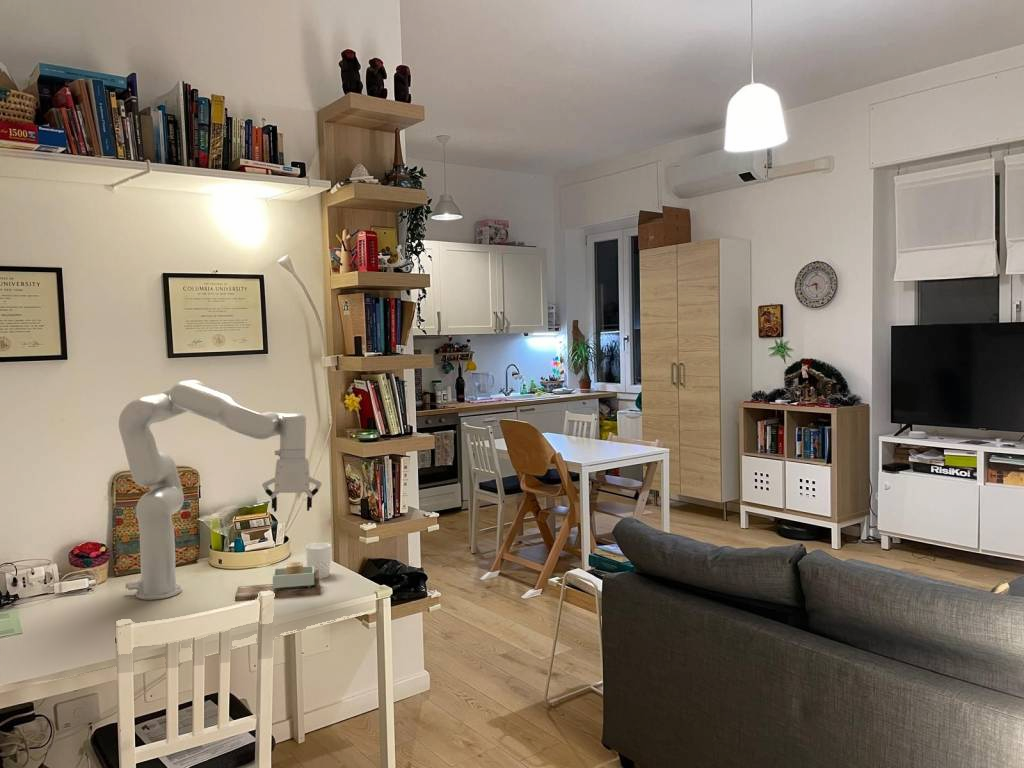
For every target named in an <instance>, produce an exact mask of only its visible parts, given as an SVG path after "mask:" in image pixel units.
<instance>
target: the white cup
mask: <svg viewBox="0 0 1024 768" xmlns="http://www.w3.org/2000/svg"><path fill="white" fill-rule="evenodd" d="M331 548H332V544H330V543H329V542H313V543H308V544H306V546H305V553H306V556H305V557H306V566H314V572H316V570H318V569H319V580H320V579H325V578H328V577H330V574H331V573H330V572H331V571H330V570H331V569H330V567H331V556H332V555H331V550H332V549H331Z"/></svg>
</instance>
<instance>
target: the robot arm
mask: <svg viewBox="0 0 1024 768" xmlns="http://www.w3.org/2000/svg"><path fill="white" fill-rule="evenodd" d="M184 413H191V414H194V415H197V416H200V417H202V418H205V419H208V420H211V421H214V422H216V423H218V424H219V425H221V426H223V427H226V428H227V429H229V430H232V431H233V432H235V433H239V434H242V435H243V436H247V437H250V438H253V439H255V440H267V439H269V438H272V437H275V436H276V437H277V436H279V449H278V450H274V456H278V457H279V458H277V459H276V463H275V469H274V470H275V472H274V477H273V478H272V477H271V479H269V480H266V481H265V482H262V484H261V485H262V488H263V489H264V491H265V494H267V496H268V497H270V499H271V509H273V512H274V513H275V512H277V511H278V510H277V509H278V497H277V495H278V494H290V493H291V494H294V493H295V494H296V493H299V494H301V493H305V494H306V511H308V512H309V511H310V508H313V505H312V504H313V497H314V496H315V495H316V494H317V493H318V492H319V490H320V488H321V486H322V482H321V481H319V480H317V479H316V478H313V477H311V476H310V463H309V459H308V457H307V458H306V446H307V444H306V443H307V441H306V440H307V437H306V436H307V417H306V415H305V414H303V413H296V412H295V413H293V412H292V413H290V412H289V413H283V412H282V413H281V412H280V413H279V412H276V411H275V412H274V411H266V412H262V413H260V412H256V411H254V410H252V409H251V410H250V409H248V408H245V407H244V406H243V407H242V406H241V405H239V404H237V403H236V402H235V401H234V400H233V398H231V396H229V395H227V394H225V393H222V392H219V391H216V390H213V389H211V388H209V387H207V385H206V384H205V383H203V382H202V381H199V380H197V379H189V380H187V379H186V380H183V381H181V380H180V381H179V382H177V383H175V384H174V385H173V386H172V387H171V388H170V389H168V390H164V391H162V392H159V393H156V394H150V395H149V394H148V395H144V396H140V397H137V398H135V399H133V400H131V401H130V402H129V403H128V404H126V405H125V406H124V407H123V409H122V411H121V412H120V415H119V419H118V430H119V433H120V437H121V440H122V443H123V447H124V450H125V456H126V460H127V463H128V466H129V471H130V475H131V478H132V481H134V483H135V484H137V485H138V486H140V487H143V488H146V487H147V488H148V487H149V491H147V492H146V493H144V494H143V495H142V496H141V497H140V498H139V499H138V501H137V504H136V509H135V511H136V513H135V514H136V519H137V523H138V524H137V525H138V529H139V551H140V552H139V553H140V555H139V556H140V579H139V580H137V581H127V582H125V589H126V590H127V589H128V591H130V590H131V591H132V590H136V592H135V597H136V598H137V599H140V600H145V601H147V600H148V601H153V600H162V599H167V598H171V597H174V596H177V595H179V594H180V593H181V592H182V586H181V585H180V584H177V581H176V580H177V579H176V578H177V577H176V575H177V574H176V540H175V527H174V523H173V519H172V516H173V515H174V514H176V513H178V512H179V511H180V510H181V508H182V507H183V505H184V502H185V495H184V494H185V493H184V491H183V486H182V482H181V479H180V476H179V472H178V468H177V464H176V462H175V461H174V459H173V457H172V456H171V455H170V454H169V453H166V452H164V451H160V450H158V447H157V442H156V439H155V437H154V434H153V433H152V431H151V429H150V427H151V425H152V424H155V423H160V422H164V421H167V420H169V419H173V418H175V417H177V416H179V415H182V414H184ZM310 483H311V484H313V485H315V487H314V488H313V489H312V490H311V489H310V487H311V486H310ZM273 484H274V490H273V491H272V490H271V489H270V487H269V486H270V485H273Z"/></svg>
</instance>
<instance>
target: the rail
mask: <svg viewBox="0 0 1024 768" xmlns="http://www.w3.org/2000/svg"><path fill="white" fill-rule="evenodd" d="M268 590H270V591H273V592H274V593H275V598H274V599H276V598H286V597H287V598H288V597H299V596H311V595H320V579H319V569H318V570H316V572H314V585H311V588H310V589H308V588H307V585H306V586H294V587H281V588H280V591H276V588H273V583H267V584H253V585H243V586H242V585H241V586H238V587H237V590H236V593H235V595H234V602H235V601H236V602H237V601H249V600H251V601H252V600H256V599H255V598H257V597H258V593H259V592H260V591H268Z"/></svg>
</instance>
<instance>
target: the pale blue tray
mask: <svg viewBox="0 0 1024 768" xmlns="http://www.w3.org/2000/svg"><path fill="white" fill-rule="evenodd" d="M272 584H273V588H276V591H280V588H281V587H294V586H306V585H307V588H308V589H310V588H311V585H314V566H307V565H306V566H303V574H290V575H287V567H279V568H273V572H272Z"/></svg>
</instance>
